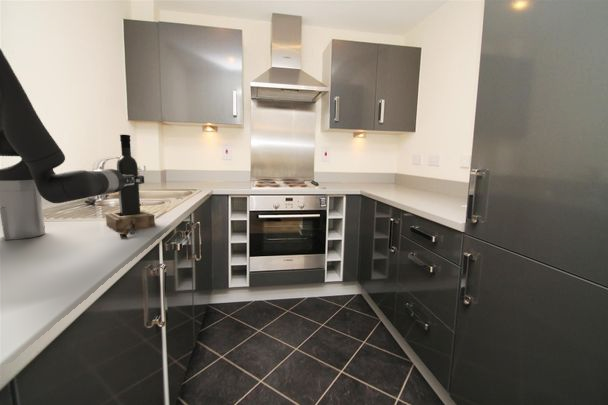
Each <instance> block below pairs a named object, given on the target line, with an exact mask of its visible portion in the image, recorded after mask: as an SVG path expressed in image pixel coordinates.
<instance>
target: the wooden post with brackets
mask: <svg viewBox="0 0 608 405" xmlns="http://www.w3.org/2000/svg"><path fill="white" fill-rule="evenodd" d="M134 223H135V220H131V222H130V224H129V225H128V226H127V228H126V230H125V231H122V233H121V232H120V233H119V237H120V239H127V238H128V234H129V235H134V233H135V232H137V229H136V227H135V224H134ZM132 227H133V229H132V230H130V229H131V228H132Z"/></svg>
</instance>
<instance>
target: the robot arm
mask: <svg viewBox="0 0 608 405" xmlns="http://www.w3.org/2000/svg"><path fill="white" fill-rule="evenodd" d="M0 157H20V159H21V160H20V161H19V162H17V163H15V164H13V165H11V166H8V167H4V168H3V167H2V168H0V220H1V226H2V234H3V239H4V241H7V240H21V239H29V238H35V237H39V236H42V235H45V234H46V225H45V217H44V210H43V202H42V201H43V200H42V199H44V200H45V201H47V202H49V203H52V204H62V203H67V202H73V201H78V200H83V199H88V198H92V197H97V196H107V195H111V194H116V193H119V191H120V190H122V189H123V187H124V186H126V185H134V183H135V184H136V185H138V184H139V185H142V184H145V176H144V175H139V174H138V175H136V176H134V175H125V174H121V173H120V172H119V171H117V169H114V168H106V169H105V168H104V169H95V170H85V169H84V170H83V169H80V170H71V171H66V172H61V173H56V172H55V171H54V169H56V168H58V167H60V166H61V165H62V164H64V163H65V161H66V156H65V154H64V152H63V150H62V148H60V146H59V145H58V143H57V142H56V141H55V139H54V138H53V136H52V135H51V134H50V132H49V131H48V130H47V128H46V126H45V125H44V124H43V122H42V121H41V118H40V117H39V115H38V113H37V112H36V110H35V108H34V106H33V104H32V102H31V100H30V99H29V97H28V95H27V92H26V90H25V89H24V87H23V85H22V84H21V81H20V80H19V78H18V76H17V75H16V73H15V71H14V70H13V68H12V66H11V64H10V62H9V61H8V59H7V57H6V55H5V54H4V52H3V50H2V48H1V47H0ZM127 176H129V177H127Z"/></svg>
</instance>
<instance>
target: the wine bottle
mask: <svg viewBox="0 0 608 405" xmlns="http://www.w3.org/2000/svg"><path fill="white" fill-rule="evenodd" d="M119 138H120V140H119V141H120V148H121V156H120V157H119V158H118V159H117V161H116V170H117V171H119V172H120V173H121V174H125V175H134V176H136V175H138V176H139V168H138V163H137V161H136V159H135V158H134V157H133V156H132V150H131V135H130V134H120V135H119ZM127 177H129V176H127ZM139 186H140V184H138V185H136V184H135V183H134V185H126V186H124V187H123V189H122V190H120V191H119V192H118V202H119V212H120V216H128V215H137V214H140V210H141V204H140V203H141V202H140V201H141V200H140V188H139Z"/></svg>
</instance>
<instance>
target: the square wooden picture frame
mask: <svg viewBox="0 0 608 405" xmlns="http://www.w3.org/2000/svg"><path fill="white" fill-rule="evenodd" d="M131 220H135V223H134V224H135V227H136V230H137V229H138V230H139V229H144V228H145V229H146V228H150V227H151V228H153V227H156V222H155V221H156V220H155V214H152V213H150V212H148V211H145V210H143V209H140V214H137V215H128V216H120V211H115V212H110V213H108V214H106V213H105V222H106V226H107V227H109V228H110V229H112V230H113V231H115V232H116V233H119V232H124V231H125V230H126V228H127V226H128V225H129V224H130V222H131ZM131 230H133V227H132V228H131V229H130V231H131Z"/></svg>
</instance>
